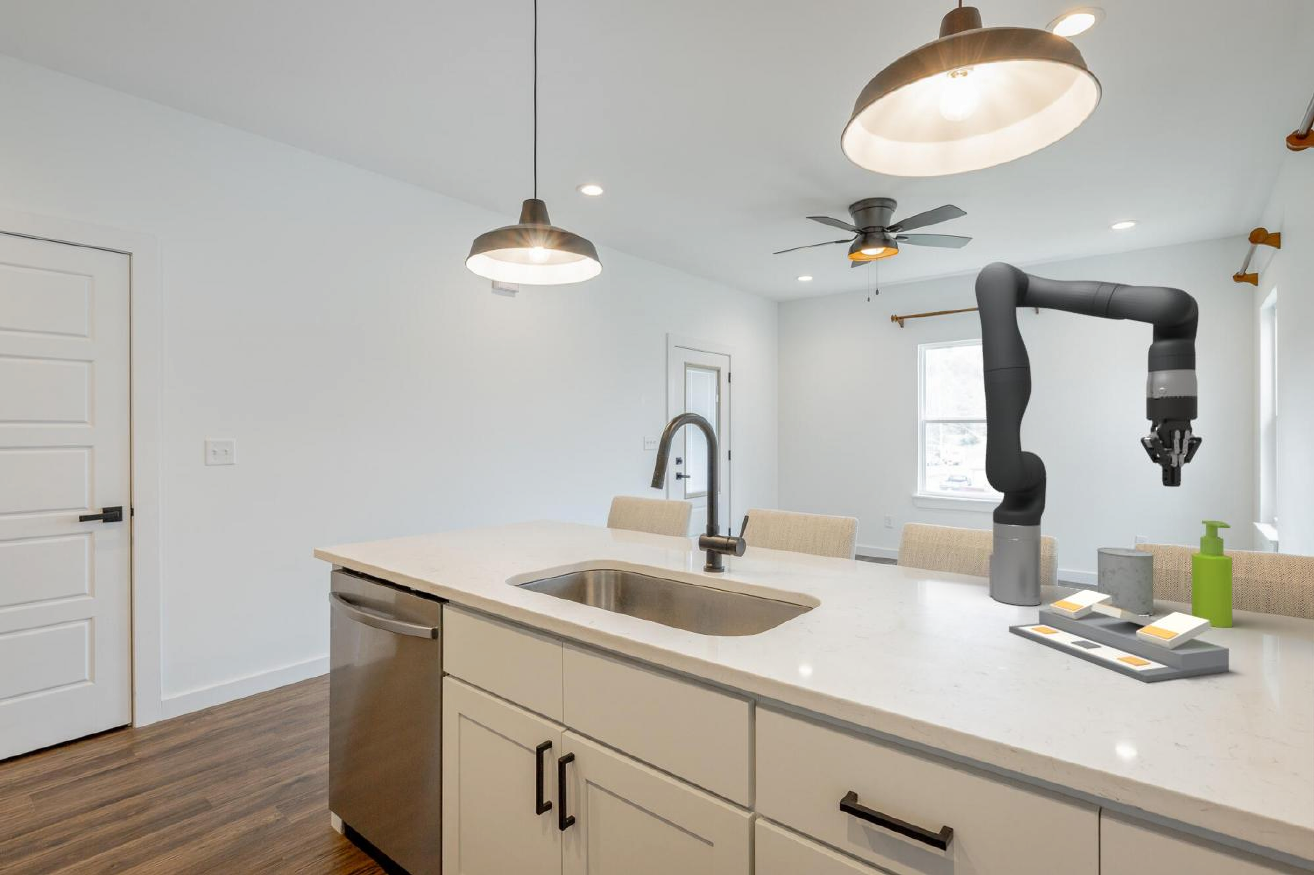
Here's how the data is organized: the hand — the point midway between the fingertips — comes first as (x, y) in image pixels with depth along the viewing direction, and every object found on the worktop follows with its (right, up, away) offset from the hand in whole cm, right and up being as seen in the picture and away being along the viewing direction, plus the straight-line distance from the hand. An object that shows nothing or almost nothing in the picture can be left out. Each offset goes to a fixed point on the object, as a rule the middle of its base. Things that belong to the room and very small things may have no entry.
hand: (1171, 486), depth 118 cm
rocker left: (-19, -22, -3) cm, 30 cm away
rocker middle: (-17, -22, -11) cm, 30 cm away
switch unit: (-21, -27, -12) cm, 36 cm away
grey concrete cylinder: (+1, -27, +13) cm, 30 cm away
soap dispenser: (+11, -27, +3) cm, 29 cm away
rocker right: (-15, -22, -19) cm, 33 cm away
